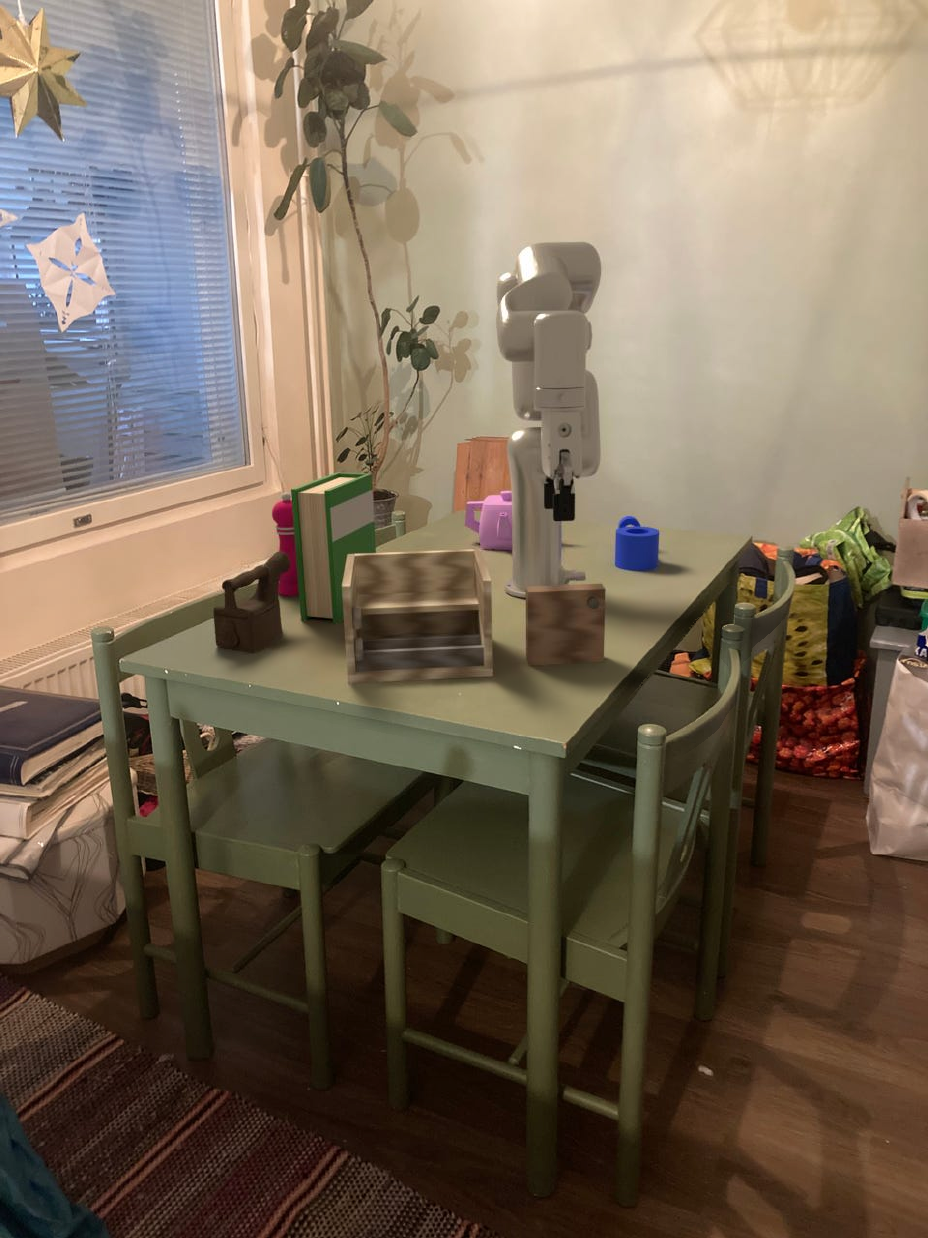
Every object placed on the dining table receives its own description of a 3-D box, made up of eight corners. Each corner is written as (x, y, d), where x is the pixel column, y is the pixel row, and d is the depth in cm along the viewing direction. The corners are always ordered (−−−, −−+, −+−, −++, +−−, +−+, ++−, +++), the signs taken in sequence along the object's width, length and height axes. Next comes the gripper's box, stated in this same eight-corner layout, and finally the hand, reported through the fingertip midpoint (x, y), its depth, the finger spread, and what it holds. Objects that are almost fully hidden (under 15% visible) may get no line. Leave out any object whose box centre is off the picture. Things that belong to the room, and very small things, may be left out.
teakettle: (511, 531, 241) (511, 481, 237) (558, 543, 228) (559, 491, 224) (456, 543, 231) (455, 491, 227) (503, 556, 218) (502, 501, 215)
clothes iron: (307, 626, 174) (301, 553, 170) (251, 655, 161) (244, 576, 157) (270, 621, 178) (264, 549, 174) (213, 648, 164) (205, 571, 160)
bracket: (660, 571, 204) (662, 535, 202) (616, 572, 205) (617, 536, 202) (648, 548, 223) (649, 515, 220) (608, 549, 223) (609, 516, 221)
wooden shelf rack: (481, 635, 168) (480, 548, 163) (492, 676, 149) (491, 580, 145) (353, 640, 166) (347, 554, 162) (347, 682, 148) (341, 586, 143)
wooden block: (600, 655, 157) (601, 583, 153) (605, 664, 153) (607, 591, 149) (525, 658, 156) (525, 586, 153) (529, 668, 152) (529, 594, 149)
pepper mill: (277, 587, 198) (268, 489, 192) (313, 585, 199) (306, 488, 193) (273, 597, 192) (264, 496, 185) (310, 595, 192) (303, 495, 186)
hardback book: (337, 623, 175) (329, 491, 168) (301, 620, 178) (290, 489, 170) (378, 596, 191) (371, 473, 184) (344, 593, 194) (336, 472, 186)
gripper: (595, 403, 136) (593, 525, 141) (575, 394, 152) (574, 503, 157) (542, 405, 136) (541, 526, 141) (527, 395, 152) (527, 504, 157)
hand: (558, 514), depth 149 cm, fingers open, 9 cm apart
